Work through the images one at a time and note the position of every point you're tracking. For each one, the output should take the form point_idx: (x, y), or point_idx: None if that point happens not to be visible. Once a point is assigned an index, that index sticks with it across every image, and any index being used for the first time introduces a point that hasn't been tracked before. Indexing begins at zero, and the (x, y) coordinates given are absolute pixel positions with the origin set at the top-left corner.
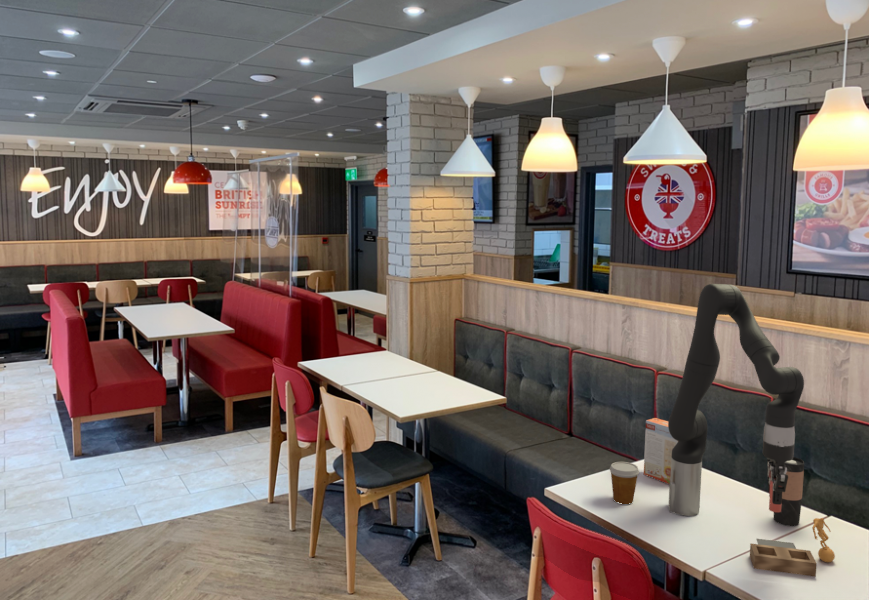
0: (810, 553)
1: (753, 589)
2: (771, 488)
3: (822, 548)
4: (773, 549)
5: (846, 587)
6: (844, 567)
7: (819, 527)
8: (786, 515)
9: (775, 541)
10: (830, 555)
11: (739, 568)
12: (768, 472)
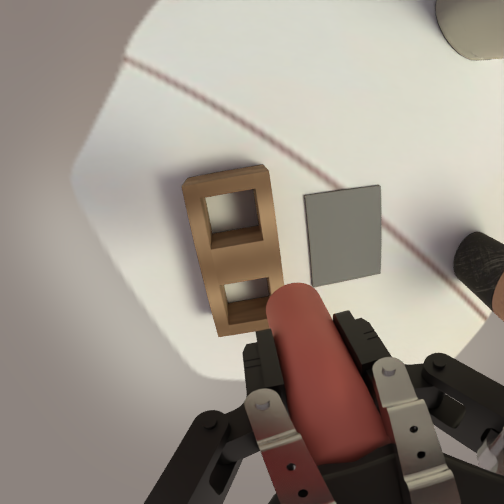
0: None
1: (82, 185)
2: (307, 377)
3: None
4: (262, 238)
5: (205, 360)
6: None
7: None
8: (470, 267)
9: (377, 233)
10: None
11: (175, 140)
12: (417, 427)
